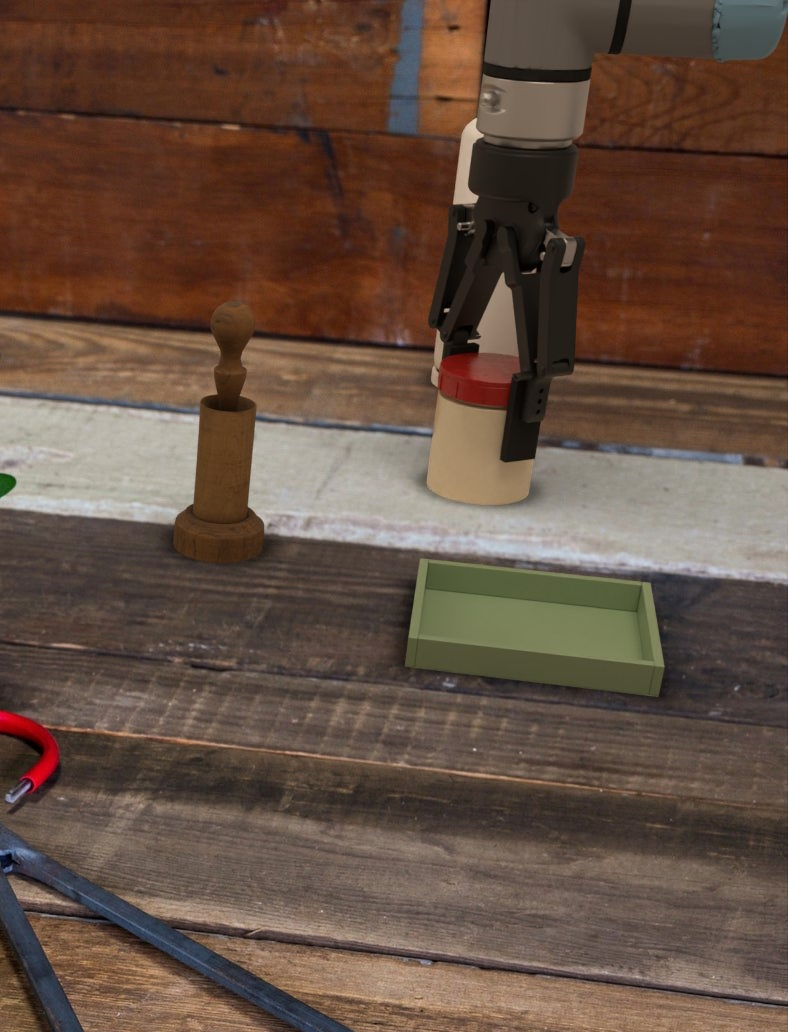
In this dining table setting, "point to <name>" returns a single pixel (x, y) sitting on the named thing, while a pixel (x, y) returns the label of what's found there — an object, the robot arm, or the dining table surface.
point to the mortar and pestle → (224, 455)
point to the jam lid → (478, 377)
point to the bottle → (499, 311)
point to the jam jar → (473, 455)
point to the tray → (535, 627)
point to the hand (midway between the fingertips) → (483, 441)
